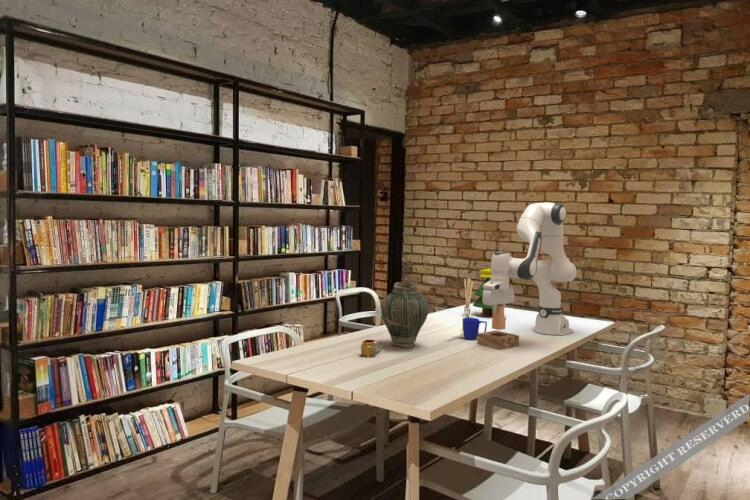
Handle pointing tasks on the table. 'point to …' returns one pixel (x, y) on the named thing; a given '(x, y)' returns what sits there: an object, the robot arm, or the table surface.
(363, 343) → the mug
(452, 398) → the table surface
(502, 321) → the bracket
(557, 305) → the robot arm
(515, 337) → the wooden tray
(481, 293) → the decorative tree
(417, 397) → the table surface
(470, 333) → the mug
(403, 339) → the vase
